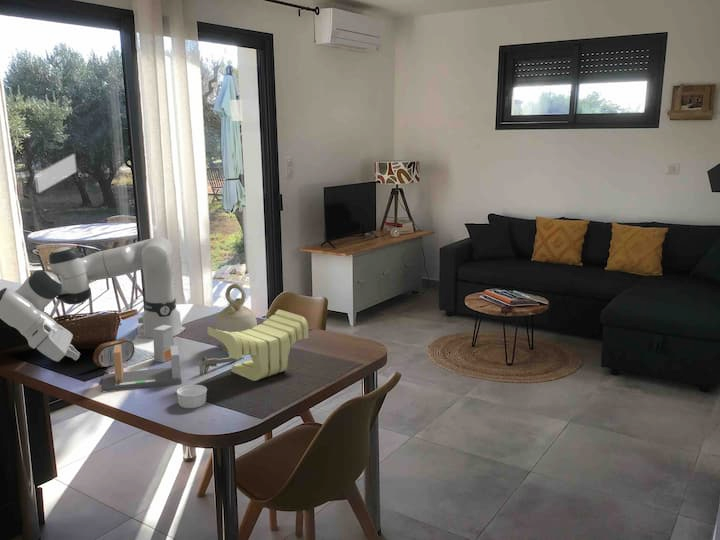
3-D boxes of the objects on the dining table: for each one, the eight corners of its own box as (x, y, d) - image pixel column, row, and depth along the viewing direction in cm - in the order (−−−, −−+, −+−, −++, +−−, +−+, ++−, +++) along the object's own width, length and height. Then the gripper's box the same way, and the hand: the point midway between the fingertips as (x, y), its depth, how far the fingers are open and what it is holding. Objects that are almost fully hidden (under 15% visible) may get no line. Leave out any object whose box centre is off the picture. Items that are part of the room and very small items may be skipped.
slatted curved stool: (238, 390, 196) (236, 336, 193) (209, 377, 207) (207, 326, 203) (308, 366, 218) (308, 317, 214) (279, 356, 228) (278, 309, 225)
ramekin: (198, 395, 193) (197, 382, 192) (213, 403, 187) (212, 390, 186) (171, 403, 187) (171, 389, 186) (186, 412, 181) (185, 398, 180)
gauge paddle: (115, 385, 195) (112, 354, 193) (116, 373, 205) (114, 344, 203) (121, 384, 196) (119, 354, 194) (123, 373, 205) (121, 344, 203)
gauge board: (101, 391, 194) (99, 363, 193) (104, 378, 206) (102, 350, 204) (181, 383, 202) (180, 355, 200) (179, 370, 213) (178, 344, 211)
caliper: (202, 376, 209) (201, 358, 208) (199, 375, 209) (198, 357, 208) (244, 359, 226) (243, 342, 224) (241, 358, 226) (241, 342, 225)
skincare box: (164, 362, 221) (162, 330, 218) (154, 361, 222) (152, 329, 220) (174, 357, 226) (172, 325, 224) (164, 355, 228) (163, 324, 225)
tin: (131, 357, 226) (129, 335, 224) (136, 359, 224) (135, 336, 222) (93, 369, 214) (91, 346, 212) (98, 371, 212) (96, 347, 210)
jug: (233, 339, 247) (230, 278, 242) (265, 345, 240) (264, 282, 235) (208, 350, 234) (205, 286, 228) (241, 357, 227) (239, 290, 222)
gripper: (39, 327, 200) (74, 353, 205) (27, 347, 181) (67, 376, 186) (53, 313, 200) (88, 339, 205) (43, 331, 181) (82, 360, 186)
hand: (78, 357), depth 196 cm, fingers closed
